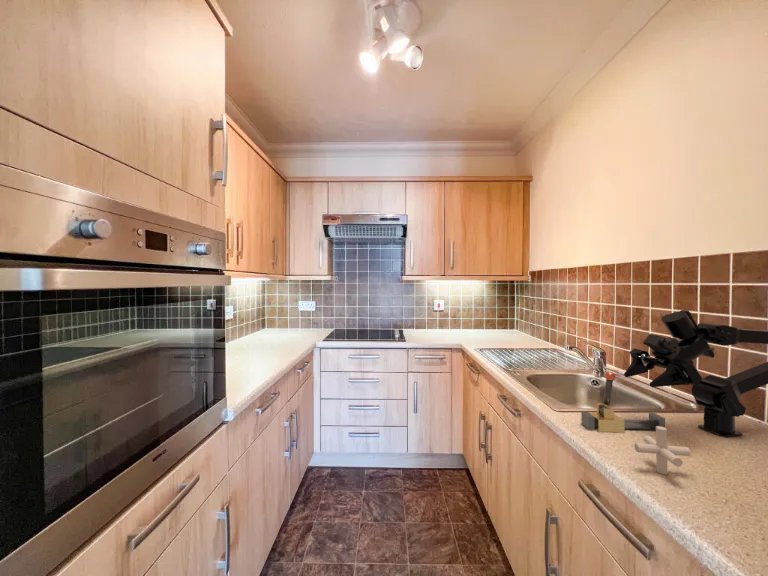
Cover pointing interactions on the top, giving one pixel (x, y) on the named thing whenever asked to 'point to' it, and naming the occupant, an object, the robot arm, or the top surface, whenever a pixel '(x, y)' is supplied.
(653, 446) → the pipe connector
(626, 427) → the valve pipe
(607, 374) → the valve lever
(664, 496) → the top surface
